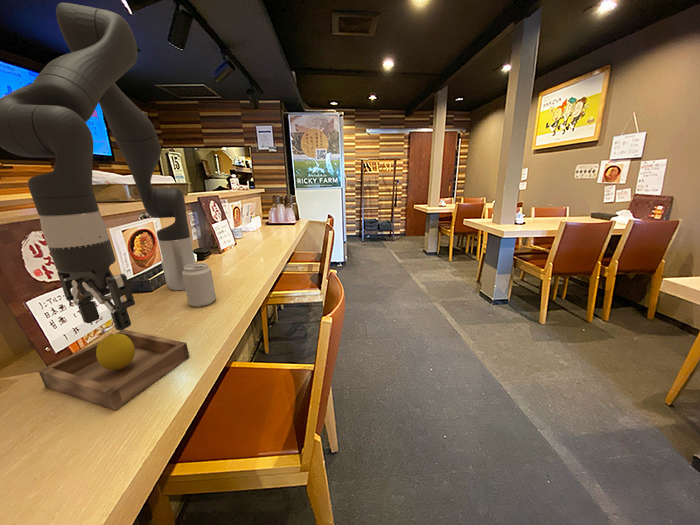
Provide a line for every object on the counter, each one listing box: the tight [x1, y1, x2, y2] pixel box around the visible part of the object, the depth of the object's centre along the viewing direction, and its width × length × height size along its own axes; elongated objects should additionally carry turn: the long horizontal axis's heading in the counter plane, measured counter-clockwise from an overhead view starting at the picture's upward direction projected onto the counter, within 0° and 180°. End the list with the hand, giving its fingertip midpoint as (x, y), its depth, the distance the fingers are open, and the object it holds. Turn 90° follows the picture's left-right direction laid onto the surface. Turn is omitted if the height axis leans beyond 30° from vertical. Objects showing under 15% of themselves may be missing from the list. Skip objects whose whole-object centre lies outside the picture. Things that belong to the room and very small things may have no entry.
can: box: [182, 262, 217, 308], centre depth 80 cm, size 8×8×12 cm
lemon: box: [96, 333, 135, 370], centre depth 52 cm, size 6×6×8 cm
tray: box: [38, 329, 190, 412], centre depth 53 cm, size 18×14×4 cm
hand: (107, 324), depth 50 cm, fingers open, 8 cm apart
